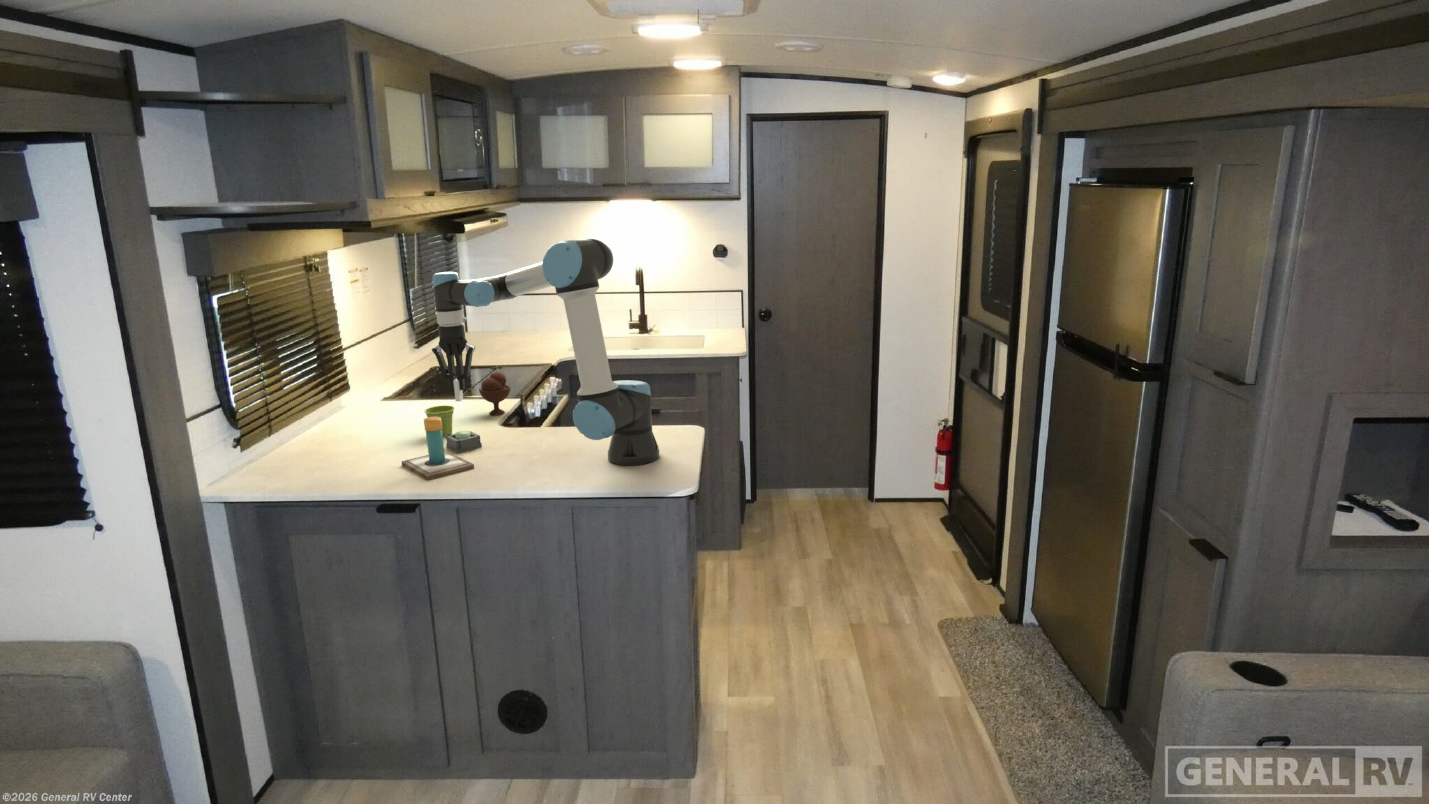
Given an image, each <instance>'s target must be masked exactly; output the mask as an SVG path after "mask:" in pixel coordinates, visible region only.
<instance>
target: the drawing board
mask: <svg viewBox="0 0 1429 804" xmlns="http://www.w3.org/2000/svg"><path fill="white" fill-rule="evenodd" d="M444 453H445V462H444V463H441V464H430V462H429V454H426V455H422V456H418V457H414V458H410V459H406V460H405V459H404V460H401V462H400V463H401V466H402V467H404V468H406V469H408V470H409V471H410V472H413V473H415V475H418V476H420V477H422V478H423V479H425V480H427V481H429V480H434V479H436V478H437V479H438V478H441V477H445V476H448V475H453V474H456V473H461V472H465V471H467V470H472V469H474V468H475V465H474V463H473V462H470V461H468V460H467V459H465V458H463V457H460V456H459V455H457V454H454V453H452V452H450V451H449V450H444Z"/></svg>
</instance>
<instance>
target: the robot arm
mask: <svg viewBox="0 0 1429 804" xmlns="http://www.w3.org/2000/svg"><path fill="white" fill-rule="evenodd" d="M613 254H614V253H613V252H612V250H611V248H610V246H609V245H608V244H607V243H606V242H605V241H603V240H602V239H599V238H595V237H586V238H581V239H571V240H563V241H559V242H556V243H553V244H552V245H551V246H549V247H548V248H547V250H546V252H545V253H544V255H543V258H542V261H541V262H538V263H535V264H532V265H528V266H524V267H522V268H521V267H520V268H519V269H515V270H511V271H509V272H505V273H502V274H498V275H493V276H486V277H482V278H475V279H460V277H459V274H458V272H455V271H443V272H436V273H434V274H433V275H432V291H433V298H434V304H435V312H436V322H437V323H436V324H437V325H438V326H437V329H438V338H439V341H438V344H437V346H434V347H433V348H432V349H431V352H432V353H433V354H434V356H435V358H436V361H437V362H438V366H439V368H440V371H441V374H442V376H443V378H444V379H447V380H449V382H450V389H451V391H454V399H455V402H461V401H463V400H464V393H463V391H464V390H465V389H466V383H465V379H467V378H469V377H470V375H471V369H472V361H473V355H474V354H473V353H474V352H475V350H476V346H475V345H470V343H468V340H467V338H466V333H465V331H466V330H465V324H463V323H464V314H463V306H467V307H475V308H476V307H477V308H480V307H487V306H489V305H491V303H495V302H499V301H506V300H513V299H515V298H518V297H519V296H522V295H526V294H529V293H533V292H536V291H539V290H543V289H546V288H550V287H554V289H555V292H556V296H558V297H559V298H560V299H562V301H563V304H564V309H565V315H566V318H567V319H566V320H567V324H568V329H569V334H570V338H571V344H572V348H573V349H572V350H573V353H574V358H575V364H576V369H577V373H578V379H579V382H580V383H579V384H580V387H579V389H578V391H577V392H576V396H577V401H578V403H576V404H575V407H574V409H573V410H572V419H573V420H572V421H573V423H574V426H575V428H576V429H577V431H578V432H579V433H580V434H581V435H583V436H584V437H585V438H587V439H590V440H592V441H600V440H604V439H608V438H610V437H611V439H610V442H609V446H608V450H607V459H608V461H609V462H610V463H612V464H614V465H618V466H619V465H621V466H640V465H646V464H649V463H650V464H651V463H653V462H655V461H657V460H658V459H659V458H660V448H659V445H658V443H657V440H656V437H655V435H654V432H653V416H652V394H651V387H650V384H649V383H647V382H645V381H641V380H629V379H627V380H626V379H625V380H622V379H621V380H614V381H613V380H612V375H611V369H610V364H609V359H608V355H607V349H606V344H605V339H604V334H603V329H602V324H601V323H602V322H601V318H600V313H599V308H598V302H597V298H596V297H597V296H596V293H597V291H598V290H599V288H600V283H599V280H601V279H603V278H605V277H606V276H608V275H609V274H610V272H611V270H612V269H613V268H612V267H613V265H614V256H613ZM442 351H443V352H444V353H445V355H446V357H445V356H444V354H443V352H442ZM464 351H466V353H465V360H464V361H463V352H464ZM445 358H446V359H447V362H446V359H445Z"/></svg>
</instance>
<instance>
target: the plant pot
mask: <svg viewBox="0 0 1429 804" xmlns="http://www.w3.org/2000/svg"><path fill="white" fill-rule="evenodd" d="M454 410H455V406H453V405H447V404H446V405H437V406H432V407H428V408H426V409H425V410H424V413H425V414H426V418H428V417H441V420H442V436H443V437H446V436H449V435H452V434H453V414H454Z"/></svg>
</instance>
